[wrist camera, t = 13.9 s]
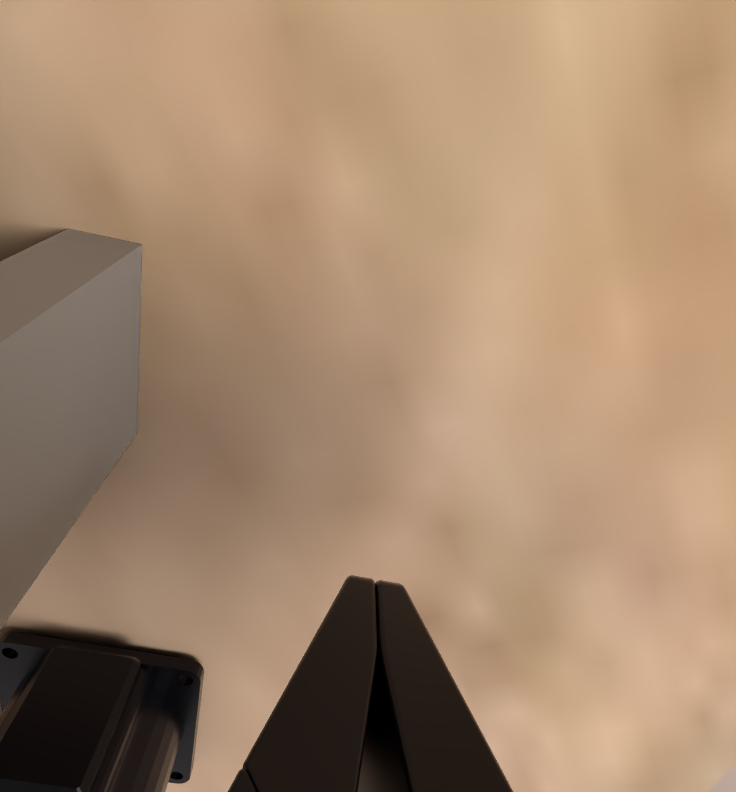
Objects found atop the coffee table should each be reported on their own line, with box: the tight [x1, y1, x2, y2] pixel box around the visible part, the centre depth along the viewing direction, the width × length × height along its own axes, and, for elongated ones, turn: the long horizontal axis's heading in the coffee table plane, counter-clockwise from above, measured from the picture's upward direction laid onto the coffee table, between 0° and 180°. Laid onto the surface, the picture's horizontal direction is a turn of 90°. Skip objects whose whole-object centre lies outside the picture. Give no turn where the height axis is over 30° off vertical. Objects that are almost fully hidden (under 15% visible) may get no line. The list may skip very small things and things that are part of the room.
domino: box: [0, 229, 142, 629], centre depth 11 cm, size 5×2×8 cm, turn 168°
